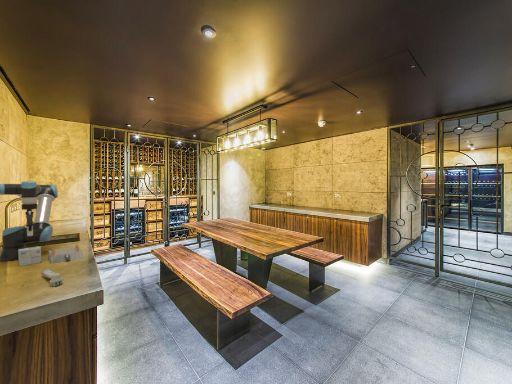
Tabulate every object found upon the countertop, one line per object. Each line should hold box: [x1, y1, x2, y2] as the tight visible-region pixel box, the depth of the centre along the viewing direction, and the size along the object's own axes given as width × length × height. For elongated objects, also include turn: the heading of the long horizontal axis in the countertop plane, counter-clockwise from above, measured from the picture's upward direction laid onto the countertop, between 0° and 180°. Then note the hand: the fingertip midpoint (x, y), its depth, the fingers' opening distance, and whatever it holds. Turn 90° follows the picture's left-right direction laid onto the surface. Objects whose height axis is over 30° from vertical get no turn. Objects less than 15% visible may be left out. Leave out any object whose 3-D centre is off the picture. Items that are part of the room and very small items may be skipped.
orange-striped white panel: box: [47, 243, 84, 264], centre depth 169 cm, size 23×18×8 cm
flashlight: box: [41, 268, 64, 287], centre depth 129 cm, size 5×7×25 cm
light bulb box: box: [18, 245, 42, 267], centre depth 157 cm, size 11×7×11 cm, turn 144°
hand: (29, 234), depth 156 cm, fingers open, 13 cm apart
